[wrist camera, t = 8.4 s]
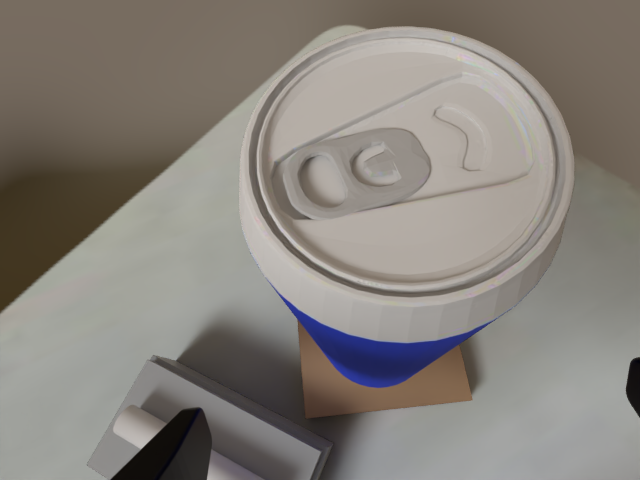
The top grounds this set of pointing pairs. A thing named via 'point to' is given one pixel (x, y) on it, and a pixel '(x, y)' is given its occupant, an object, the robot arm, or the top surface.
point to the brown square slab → (349, 397)
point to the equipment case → (224, 423)
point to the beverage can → (403, 194)
